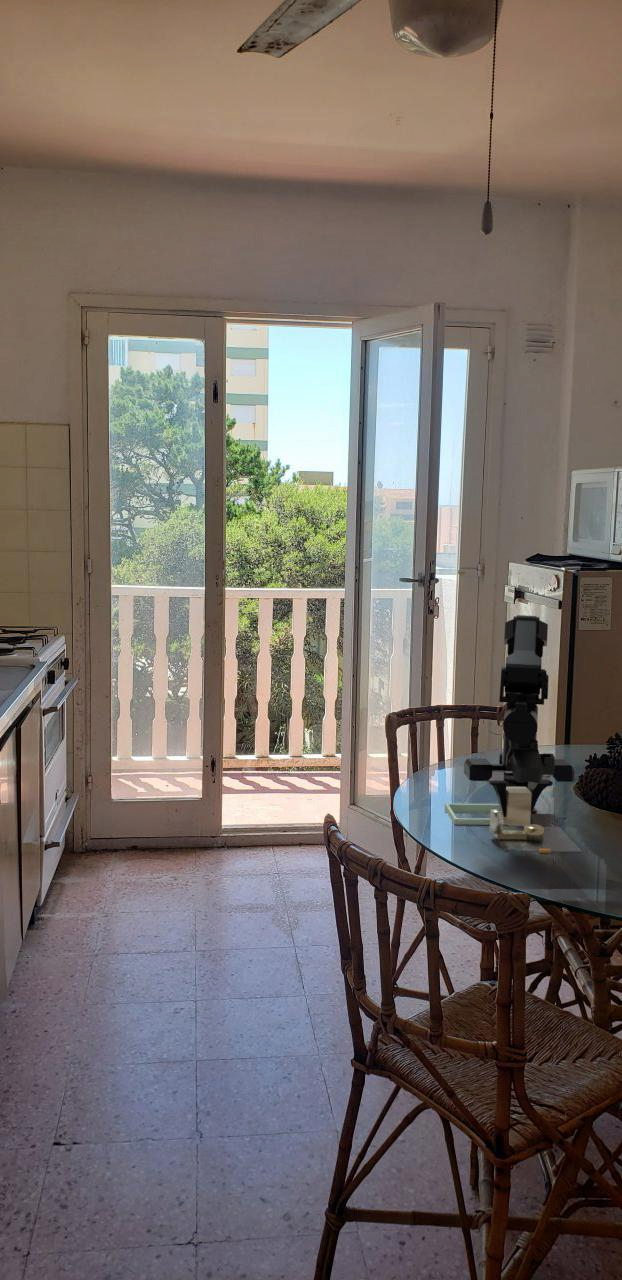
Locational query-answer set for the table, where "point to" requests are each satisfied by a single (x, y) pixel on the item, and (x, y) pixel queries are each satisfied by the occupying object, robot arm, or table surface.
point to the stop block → (518, 806)
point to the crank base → (540, 842)
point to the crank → (529, 832)
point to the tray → (471, 810)
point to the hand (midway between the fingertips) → (516, 816)
